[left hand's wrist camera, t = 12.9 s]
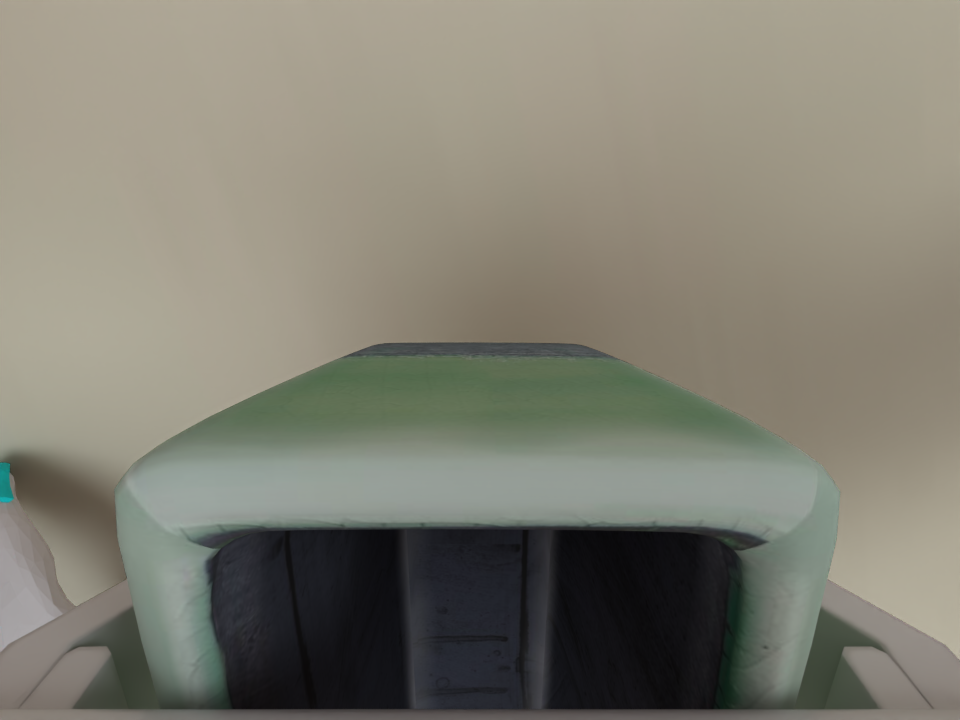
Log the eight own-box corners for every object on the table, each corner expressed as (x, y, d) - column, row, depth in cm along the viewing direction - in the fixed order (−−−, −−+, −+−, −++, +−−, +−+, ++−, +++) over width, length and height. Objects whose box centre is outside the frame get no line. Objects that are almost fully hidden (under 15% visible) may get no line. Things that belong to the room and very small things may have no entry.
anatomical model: (175, 754, 24) (-17, 880, 24) (236, 596, 34) (100, 685, 34) (-121, 503, 19) (-358, 658, 19) (50, 406, 29) (-107, 508, 29)
